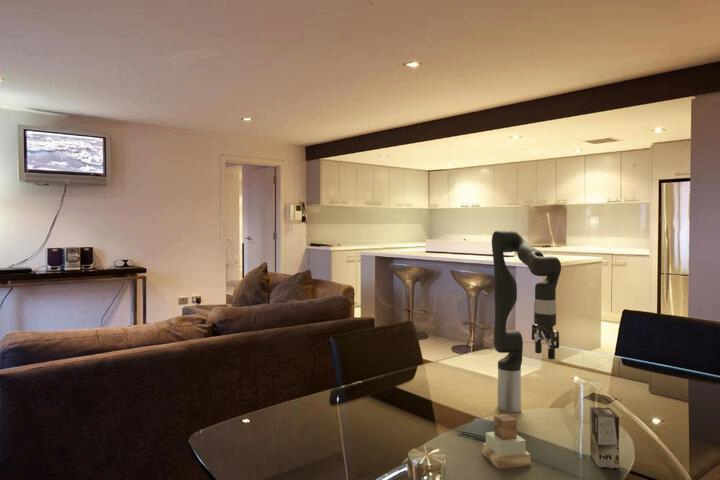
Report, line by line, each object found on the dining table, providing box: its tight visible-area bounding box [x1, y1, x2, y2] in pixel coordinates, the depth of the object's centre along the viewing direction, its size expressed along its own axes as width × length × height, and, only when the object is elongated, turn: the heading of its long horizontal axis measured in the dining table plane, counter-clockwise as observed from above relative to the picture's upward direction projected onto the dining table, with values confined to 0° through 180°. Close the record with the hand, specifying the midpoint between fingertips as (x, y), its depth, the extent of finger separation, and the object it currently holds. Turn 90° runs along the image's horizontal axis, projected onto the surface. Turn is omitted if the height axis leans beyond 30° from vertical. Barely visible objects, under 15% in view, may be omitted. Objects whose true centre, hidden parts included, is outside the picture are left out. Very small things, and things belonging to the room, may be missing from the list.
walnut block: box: [493, 414, 518, 440], centre depth 154 cm, size 5×5×6 cm
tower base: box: [482, 442, 532, 470], centre depth 154 cm, size 11×11×4 cm
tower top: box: [485, 432, 527, 456], centre depth 154 cm, size 9×9×4 cm
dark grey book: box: [460, 417, 494, 443], centre depth 178 cm, size 20×2×15 cm
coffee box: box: [589, 406, 620, 468], centre depth 152 cm, size 9×6×16 cm
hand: (544, 356), depth 173 cm, fingers open, 8 cm apart
